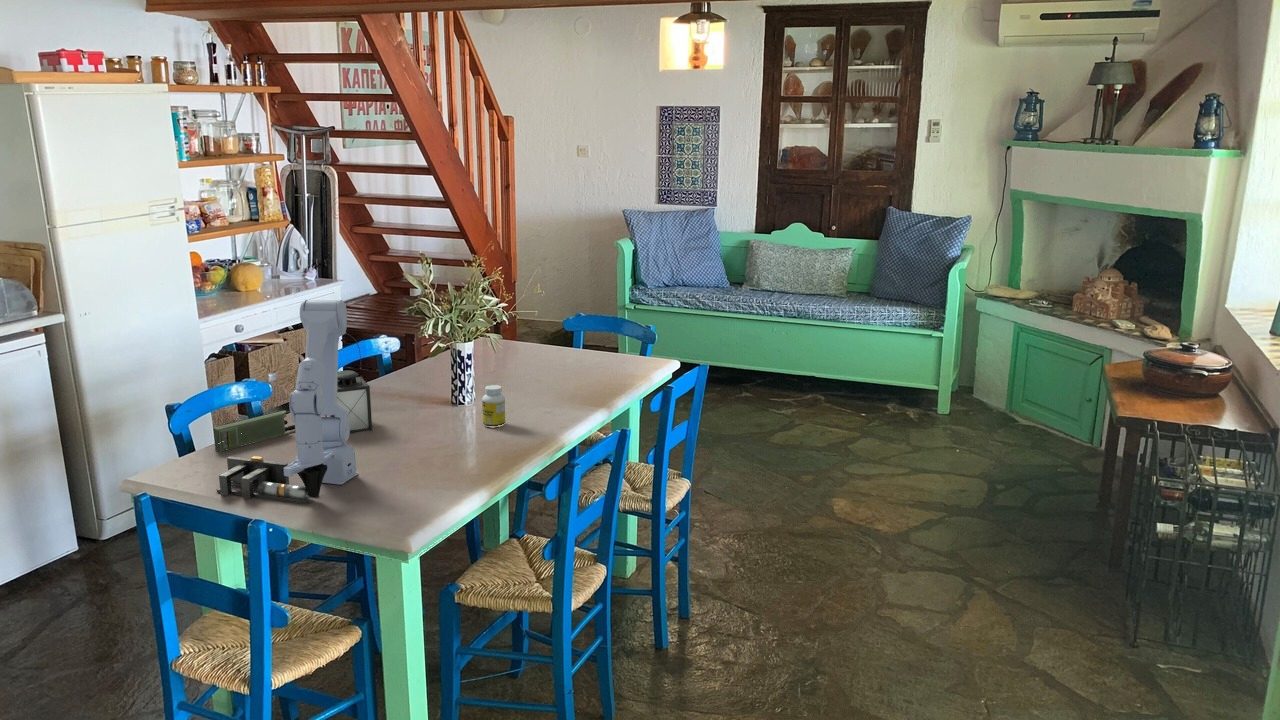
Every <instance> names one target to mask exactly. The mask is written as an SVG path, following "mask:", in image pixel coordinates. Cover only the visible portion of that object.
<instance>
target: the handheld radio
mask: <svg viewBox="0 0 1280 720" xmlns="http://www.w3.org/2000/svg"><path fill="white" fill-rule="evenodd" d="M286 413H287V411H286V410H281V411H276V412H273V413H268V414H264V415H261V416H260V415H259V416H257V417H256V416H255V417H252V418H248V419H243V420H239V421H236V422H230V423H227V424H223V425H219V426H216V427H213V437H214V449H215V451H216V452H218V451H221V452H224V451H223V450H225V451H227V450H226V449H229V450H232V449H235V448H234V447H236V448H239V447H238V446H240V447H242V446H241V445H244V446H246V445H245V444H248V445H250V444H249V443H251V444H254V443H253V442H255V443H259V442H262V441H266V440H270V439H274V438H277V437H282V436H285V435H286V434H288V431H289V432H291V431H293V430H295V424H292V425H289V426H286V425H287V424H288V420H287V419H285V418H287V414H286ZM241 433H242V434H241ZM222 441H224V442H222ZM258 441H259V442H258ZM220 442H221V443H220ZM218 443H220V444H218ZM231 448H232V449H231Z"/></svg>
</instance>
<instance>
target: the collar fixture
mask: <svg viewBox="0 0 1280 720" xmlns="http://www.w3.org/2000/svg"><path fill="white" fill-rule="evenodd" d="M226 464H227V471H225V472H223V473H221V474H219V475H218V480H219V488H216V493H217V492H221V493H220V496H222V495H225V496H224V497H230V496H232V495H231V494H233V496H241V497H242V499H244V500H245V499H246V500H251V499H253V498H256V499H263V500H264V499H265V500H271V501H272V500H273V501H279V502H289V503H295V504H302V505H307V504H308V503H309V502H308V500H309V499H308V500H305V499H297V498H289V497H281V496H273V495H266V494H259V493H258V492H257V493H256V492H254V491H255V490H258V486H259V484H260V483H261V482H263V481H264V482H272V483H280V484H288V485H290V477H288V476H284V467H286V466H288V465H289V464H288V462H281V461H280V462H279V461H272V460H264V457H263V456H259V455H258V456H257V455H254V456H252V457H250V458H247V457H246V458H245V457H237V456H228V457H227V458H226ZM231 481H233V482H231ZM255 484H256V485H255ZM234 486H235V488H241V490H242V491H240V490H233V488H232V487H234ZM229 495H230V496H229ZM316 498H319V496H317V497H316Z"/></svg>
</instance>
